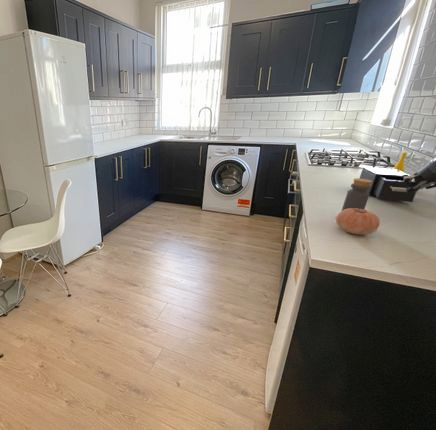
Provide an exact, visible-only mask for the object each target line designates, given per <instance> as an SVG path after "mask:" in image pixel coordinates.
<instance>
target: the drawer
mask: <svg viewBox="0 0 436 430" xmlns="http://www.w3.org/2000/svg"><path fill="white" fill-rule="evenodd" d="M411 181H412V182H413V181H414V180H413V179H412V180H411ZM406 188H407V185H406V184H405V182H404V178H401V177H387V176H378V177H377V179H376V182H375V185H374V188H373V190H372V193H373V194H374V195H376V196H375V197H376V199H377V200H385V201H396V202H406V203H413V201H414V200H415V196H416V195H417V192H414V193H407V189H406Z"/></svg>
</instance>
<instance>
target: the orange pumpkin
mask: <svg viewBox="0 0 436 430" xmlns="http://www.w3.org/2000/svg"><path fill="white" fill-rule="evenodd" d="M335 222H336V224H337V226H338V227H339V228H340V229H341V230H342V231H344V232H347V233H349V234H353V235H360V236H362V235H363V236H365V235H369V234H370V235H371V234H372V233H374V232H375V231H377V230H378V229H379V227H380V226H381V225H380V224H381V222H380V218H379V217H378V215H377V214H376V213H375V212H372V211H370V210H367V209H364V210H363V209H358V208H348V209H345V210H343V211H342V210H340V211H339V212H338V213H337V215H336V218H335Z"/></svg>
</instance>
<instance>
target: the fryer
mask: <svg viewBox="0 0 436 430" xmlns="http://www.w3.org/2000/svg"><path fill="white" fill-rule="evenodd" d="M405 174H407V175H408V176H411V175H412V174H408V173H406V172H405V171H404V172H402V171H399V170H397V169H393V168H384V167H369V166H363V167H362V170H361V172H360V176H359V178H360V179H367V180H371V181H372V182H371V184H370V185H369V186H371V188H370V189H369V190H367V192H368V193H369V197H377V196H376V195H374V194H373V193H372V190H373V188H374V185H375V182H376V179H377V177H378V176H387V177H401V178H404V177H403V175H405Z"/></svg>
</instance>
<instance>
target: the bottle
mask: <svg viewBox="0 0 436 430" xmlns="http://www.w3.org/2000/svg"><path fill="white" fill-rule="evenodd" d="M371 182H372V181H371V180H367V179H360V177H358V178H357V177H356V178H354V179H353V182H352V183H351V184H350V188H351V189H349V190H348V191H347V192H346V196H345V199H344V201H343V204H342V208H341V211H343V210H345V209H348V208H358V209H363V210H366V206H367V203H368V201H369V198H370V196H369V193H368V192H367V190H369V189H370V188H371V186H369V185H370V184H371Z"/></svg>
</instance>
